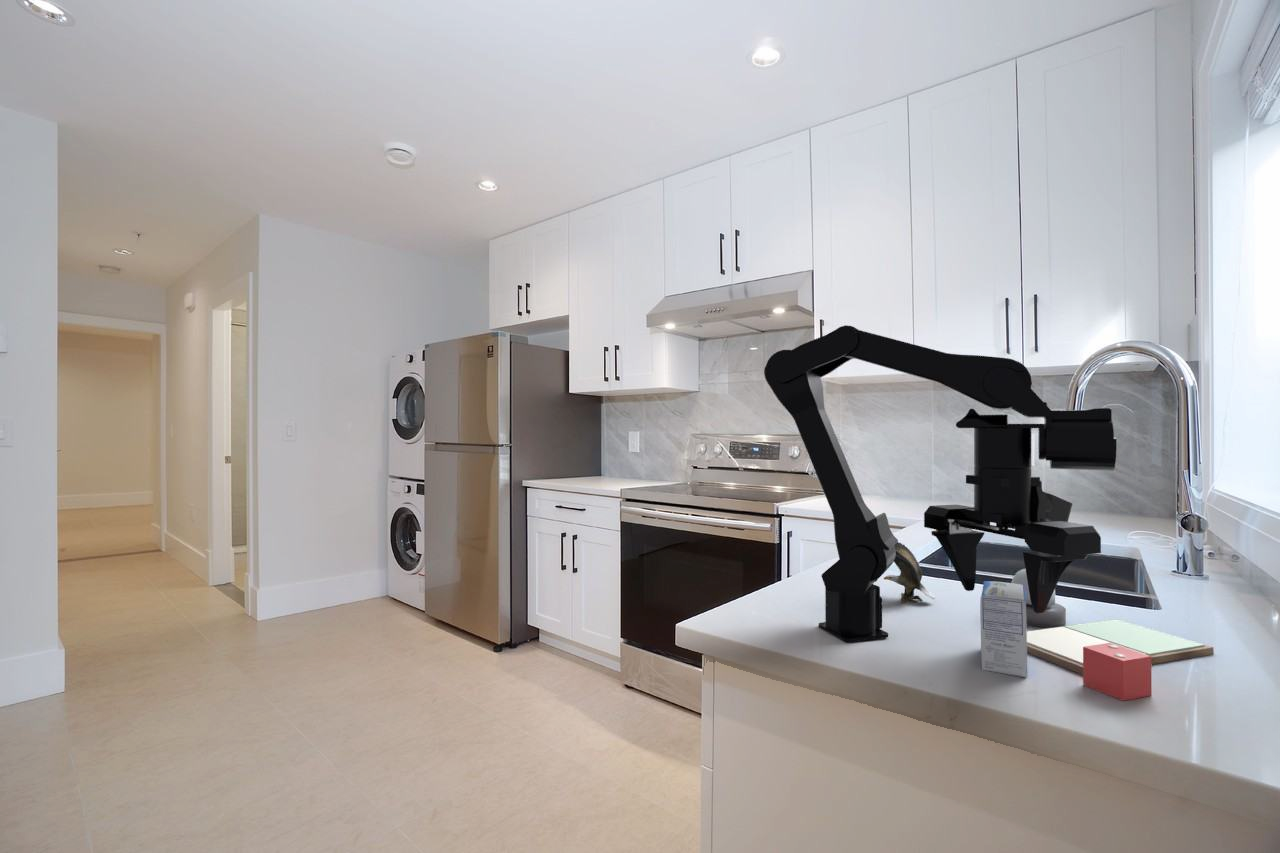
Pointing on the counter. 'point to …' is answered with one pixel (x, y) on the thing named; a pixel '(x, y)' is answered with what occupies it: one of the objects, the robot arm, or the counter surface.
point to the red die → (1117, 671)
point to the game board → (1070, 640)
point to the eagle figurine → (908, 574)
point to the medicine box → (1003, 628)
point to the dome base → (1046, 616)
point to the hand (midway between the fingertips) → (1002, 600)
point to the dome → (1022, 579)
